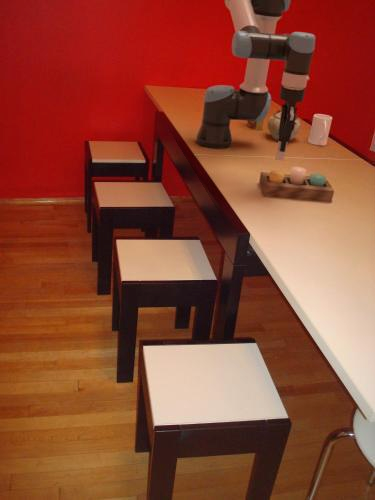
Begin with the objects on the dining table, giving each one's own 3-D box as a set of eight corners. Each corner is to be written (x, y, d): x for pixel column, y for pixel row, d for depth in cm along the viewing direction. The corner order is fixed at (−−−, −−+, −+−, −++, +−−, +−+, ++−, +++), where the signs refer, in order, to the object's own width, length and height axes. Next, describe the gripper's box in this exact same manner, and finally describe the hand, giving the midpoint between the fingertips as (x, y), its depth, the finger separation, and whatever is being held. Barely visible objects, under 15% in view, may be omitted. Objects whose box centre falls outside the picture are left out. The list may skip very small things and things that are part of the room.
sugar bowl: (305, 145, 220) (312, 112, 213) (273, 145, 217) (280, 110, 210) (289, 132, 237) (295, 100, 230) (259, 131, 234) (264, 99, 226)
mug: (329, 148, 220) (335, 121, 214) (310, 146, 220) (316, 119, 214) (324, 140, 230) (330, 115, 224) (306, 138, 230) (312, 113, 224)
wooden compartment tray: (263, 196, 165) (265, 185, 163) (259, 182, 176) (260, 172, 174) (331, 201, 166) (334, 190, 164) (323, 188, 177) (325, 177, 175)
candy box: (245, 124, 242) (250, 92, 235) (253, 124, 244) (258, 92, 236) (254, 130, 235) (260, 97, 228) (262, 130, 237) (268, 97, 230)
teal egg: (309, 192, 168) (312, 178, 166) (306, 186, 173) (309, 173, 170) (323, 193, 169) (327, 179, 166) (320, 187, 173) (323, 174, 170)
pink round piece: (290, 185, 167) (293, 171, 165) (287, 179, 171) (290, 166, 169) (304, 186, 167) (307, 172, 165) (301, 181, 172) (304, 167, 169)
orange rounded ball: (268, 188, 168) (271, 174, 165) (266, 183, 172) (269, 169, 170) (282, 189, 168) (285, 175, 166) (280, 184, 172) (283, 170, 170)
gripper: (309, 93, 148) (294, 167, 160) (301, 83, 160) (287, 154, 171) (284, 90, 148) (271, 165, 160) (278, 81, 159) (265, 152, 171)
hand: (279, 159), depth 166 cm, fingers closed
